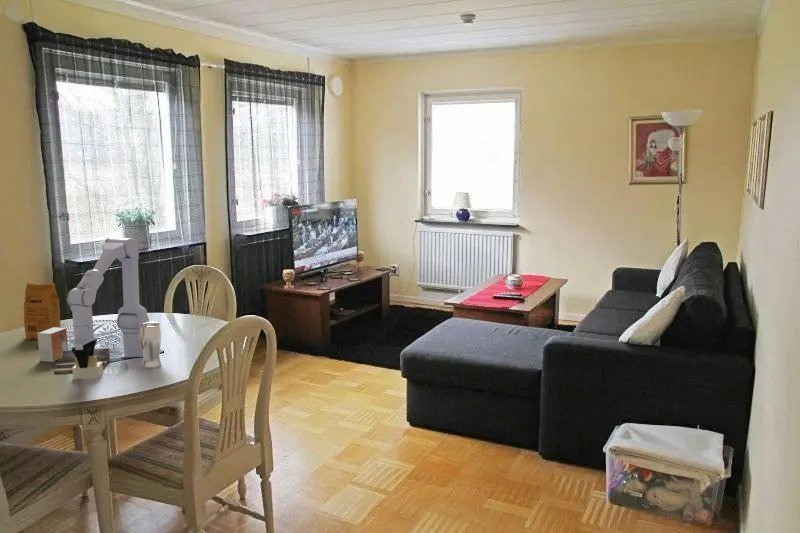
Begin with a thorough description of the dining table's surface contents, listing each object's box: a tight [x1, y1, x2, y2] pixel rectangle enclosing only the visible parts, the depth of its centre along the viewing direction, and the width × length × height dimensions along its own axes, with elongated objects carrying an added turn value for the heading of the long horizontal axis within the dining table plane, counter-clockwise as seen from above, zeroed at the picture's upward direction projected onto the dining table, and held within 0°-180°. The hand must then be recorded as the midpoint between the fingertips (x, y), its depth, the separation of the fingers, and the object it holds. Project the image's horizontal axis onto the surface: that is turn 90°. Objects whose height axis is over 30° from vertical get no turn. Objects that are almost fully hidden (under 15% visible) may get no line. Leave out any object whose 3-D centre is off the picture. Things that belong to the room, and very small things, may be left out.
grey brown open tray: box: [53, 347, 111, 375], centre depth 220 cm, size 15×12×4 cm
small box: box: [37, 327, 69, 363], centre depth 227 cm, size 8×6×10 cm
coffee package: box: [23, 282, 62, 341], centre depth 252 cm, size 10×12×22 cm
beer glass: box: [139, 321, 162, 370], centre depth 220 cm, size 7×7×15 cm
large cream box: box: [72, 356, 104, 380], centre depth 210 cm, size 8×5×7 cm, turn 103°
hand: (86, 364), depth 209 cm, fingers open, 6 cm apart
